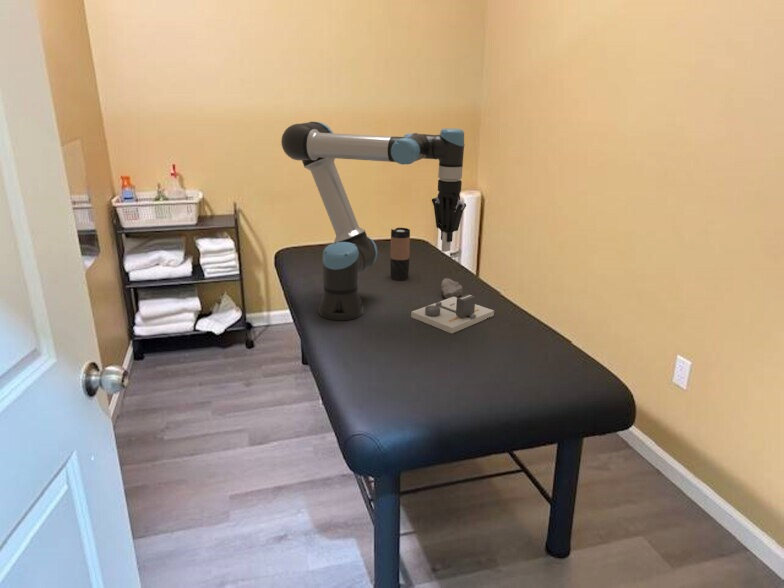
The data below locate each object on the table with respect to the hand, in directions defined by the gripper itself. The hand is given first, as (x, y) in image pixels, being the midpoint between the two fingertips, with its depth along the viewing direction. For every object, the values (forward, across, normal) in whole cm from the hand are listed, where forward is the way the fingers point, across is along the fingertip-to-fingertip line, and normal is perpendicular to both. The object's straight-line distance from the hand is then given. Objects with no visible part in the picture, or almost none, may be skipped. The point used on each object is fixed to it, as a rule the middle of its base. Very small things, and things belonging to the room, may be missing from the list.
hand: (445, 250), depth 190 cm
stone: (+23, +10, -15) cm, 29 cm away
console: (+22, -5, 0) cm, 23 cm away
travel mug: (+23, +36, -15) cm, 45 cm away
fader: (+20, -10, 0) cm, 22 cm away
